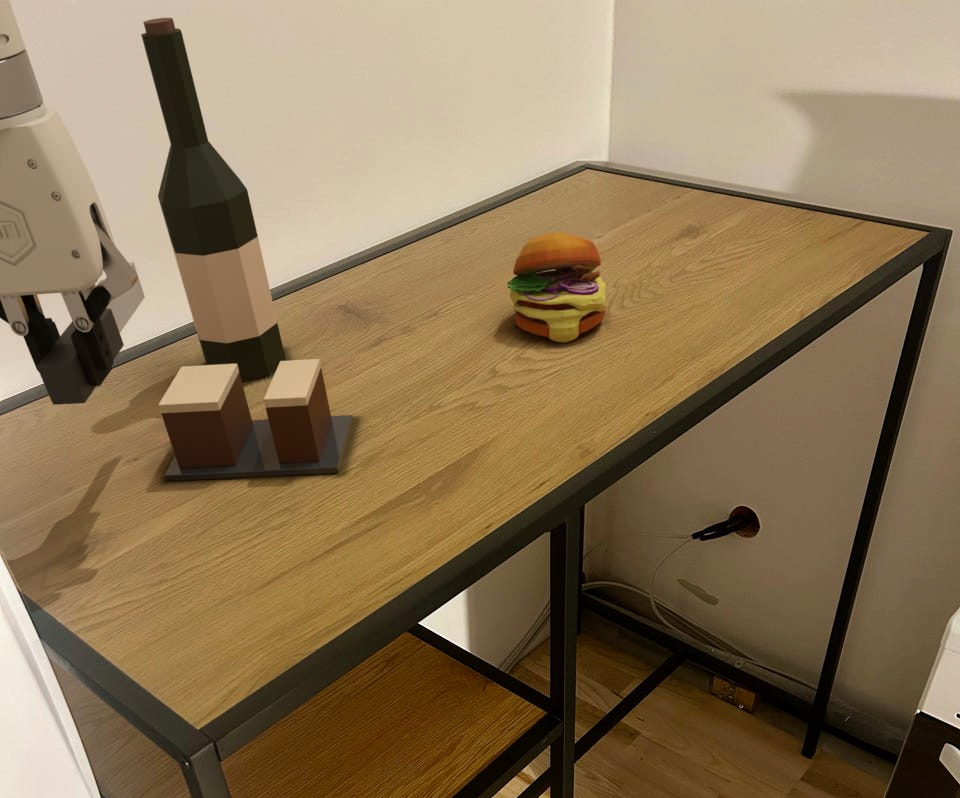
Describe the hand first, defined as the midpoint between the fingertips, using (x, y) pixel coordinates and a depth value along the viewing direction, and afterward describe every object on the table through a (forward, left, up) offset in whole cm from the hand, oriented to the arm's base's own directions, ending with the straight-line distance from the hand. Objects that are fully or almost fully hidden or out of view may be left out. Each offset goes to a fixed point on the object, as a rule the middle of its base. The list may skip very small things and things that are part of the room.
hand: (80, 376), depth 69 cm
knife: (0, +6, 0) cm, 6 cm away
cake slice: (+13, +10, -12) cm, 20 cm away
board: (+9, +10, -12) cm, 18 cm away
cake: (+5, +10, -12) cm, 16 cm away
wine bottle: (+3, +27, -13) cm, 30 cm away
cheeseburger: (+35, +33, -13) cm, 50 cm away
